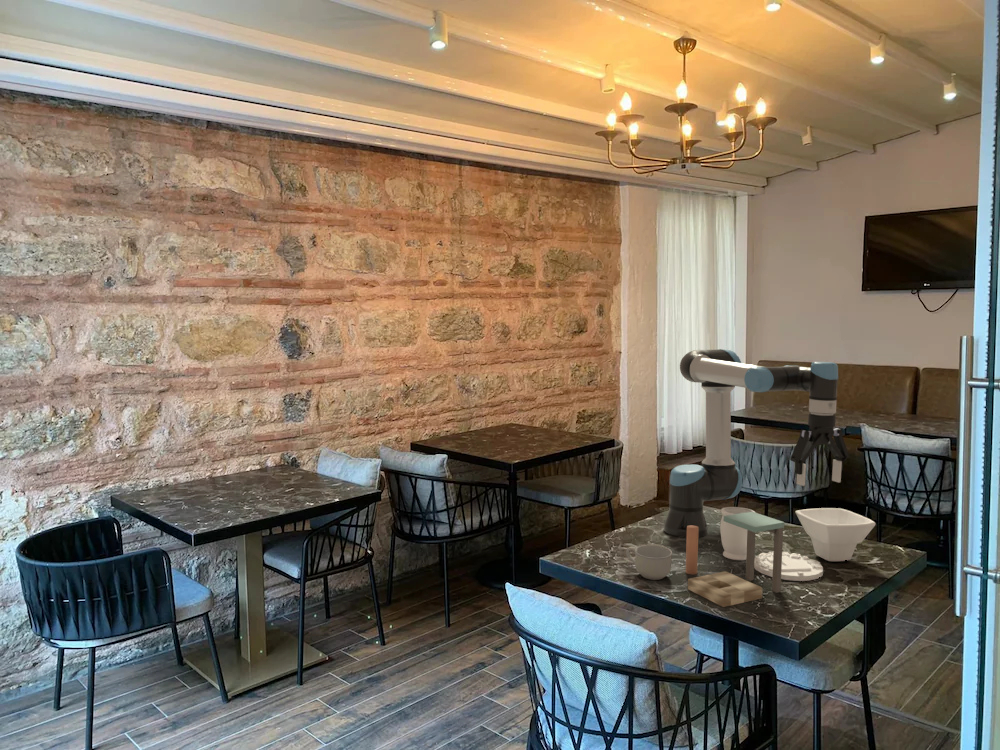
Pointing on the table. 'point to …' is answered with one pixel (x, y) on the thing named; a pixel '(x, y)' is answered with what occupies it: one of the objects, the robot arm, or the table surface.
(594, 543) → the table surface
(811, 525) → the bowl
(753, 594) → the socket block
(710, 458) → the robot arm
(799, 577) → the white round plaque
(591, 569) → the table surface
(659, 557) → the teacup
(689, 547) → the peg
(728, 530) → the jar
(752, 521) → the green-topped stool
